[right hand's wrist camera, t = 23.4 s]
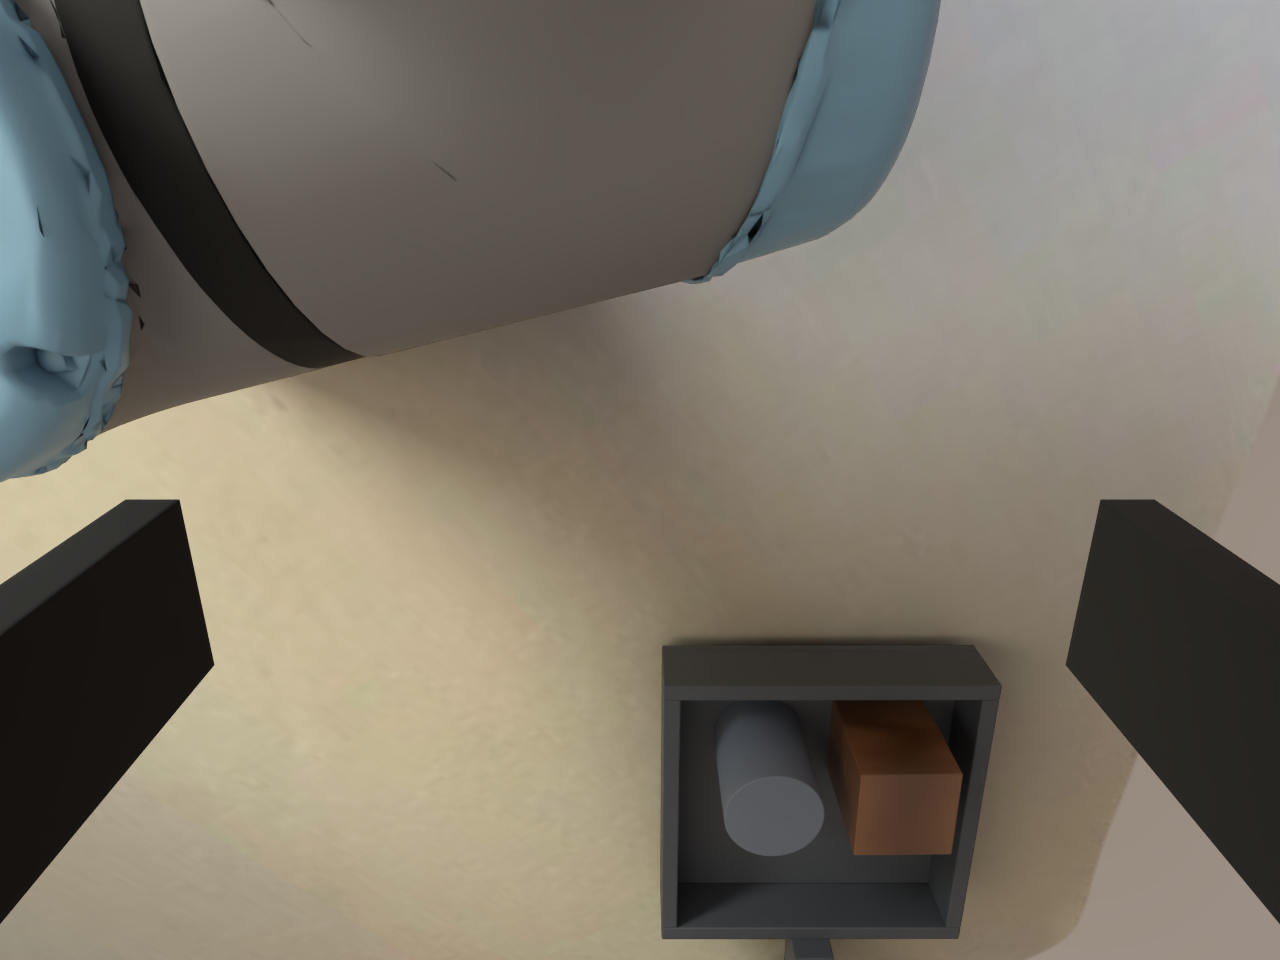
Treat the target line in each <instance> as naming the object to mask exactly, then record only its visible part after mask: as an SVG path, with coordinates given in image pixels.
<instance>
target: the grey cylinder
mask: <svg viewBox="0 0 1280 960" xmlns="http://www.w3.org/2000/svg"><path fill="white" fill-rule="evenodd" d="M714 745H715V753H716V761H717V769H718V776H719V784H720V792H721V800H722V808H723V816H724V823H725V827H726V830H727V832H728V834H729V836H730V837H731V838H732V840H733V841H734V842H735V843H736V844H737V845H738V846H740V847H741V848H743V849H745V850H746V851H749V852H751V853H754V854H758V855H763V856H781V855H786V854H790V853H793V852H795V851H798V850H800V849H802V848H803V847H805V846H806V845H808V844H809V843H810V842H811V841H812V840H813V839H814V838H815V837H816V836H817V834H818V833H819V831H820V829H821V828H822V825H823V822H824V806H823V802H822V799H821V795H820V792H819V788H818V785H817V781H816V778H815V774H814V771H813V767H812V764H811V760H810V757H809V753H808V750H807V746H806V743H805V739H804V735H803V732H802V728H801V725H800V722H799V719H798V717H797V715H796V714H795V713H794V711H793V710H792V709H791V708H790V707H788V706H787V705H786V704H784V703H782V702H781V701H778V700H740V701H738V702H736V703H734V704H732V705H731V706H729V707H728V708H727V709H726V710H725V711H723V713H722V714H721V715H720V717H719V718H718V720H717V722H716V724H715V728H714Z"/></svg>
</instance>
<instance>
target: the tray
mask: <svg viewBox="0 0 1280 960" xmlns="http://www.w3.org/2000/svg"><path fill="white" fill-rule="evenodd" d="M1001 687H1002V686H1001V684H1000V683H999V681H998V680H997V678H996V677H995V675H994V674H993V673H992V671H991V670H990V668H989V667H988V665H987V664H986V662H985V661H984V660H983V658H982V657H981V655H980V654H979V652H977V650H976V648H975V647H974V646H973V645H749V646H662V723H661V854H660V892H661V931H662V939H786V942H785V956H784V960H834V958H833V954H832V950H831V946H830V941H829V939H958V938H959V932H960V926H961V921H962V915H963V909H964V903H965V897H966V891H967V885H968V879H969V874H970V868H971V862H972V856H973V850H974V844H975V838H976V833H977V827H978V821H979V815H980V809H981V803H982V797H983V791H984V786H985V780H986V774H987V768H988V762H989V756H990V750H991V744H992V739H993V733H994V727H995V721H996V715H997V709H998V703H999V699H1000V693H1001ZM740 700H778V701H781V702H782V703H784V704H786V705H787V706H788V707H790V708H791V709H792V710H793V711H794V713H795V714H796V715H797V717H798V719H799V722H800V725H801V728H802V732H803V735H804V739H805V743H806V746H807V750H808V753H809V757H810V760H811V764H812V767H813V771H814V774H815V778H816V781H817V785H818V788H819V792H820V795H821V799H822V802H823V806H824V822H823V825H822V828H821V829H820V831H819V833H818V834H817V836H816V837H815V838H814V839H813V840H812V841H811V842H810V843H809V844H808V845H806V846H805V847H803V848H802V849H800V850H798V851H795V852H793V853H790V854H786V855H781V856H763V855H758V854H754V853H751V852H749V851H746V850H745V849H743V848H741V847H740V846H738V845H737V844H736V843H735V842H734V841H733V840H732V838H731V837H730V836H729V834H728V832H727V830H726V827H725V823H724V816H723V808H722V800H721V792H720V784H719V776H718V769H717V761H716V753H715V745H714V728H715V724H716V722H717V720H718V718H719V717H720V715H721V714H722V713H723V711H725V710H726V709H727V708H728V707H729V706H731V705H732V704H734V703H736V702H738V701H740ZM832 700H924V702H925V704H926V706H927V708H928V710H929V711H930V713H931V715H932V717H933V719H934V721H935V723H936V725H937V727H938V729H939V730H940V732H941V734H942V736H943V738H944V740H945V742H946V744H947V746H948V747H949V749H950V751H951V753H952V755H953V757H954V759H955V761H956V763H957V765H958V766H959V768H960V770H961V772H962V774H963V777H962V784H961V791H960V798H959V805H958V812H957V819H956V826H955V833H954V840H953V847H952V853H951V854H924V855H854V854H853V851H852V847H851V844H850V841H849V838H848V834H847V831H846V828H845V825H844V821H843V818H842V815H841V812H840V808H839V805H838V802H837V799H836V796H835V792H834V789H833V786H832V783H831V779H830V776H829V773H828V770H827V764H828V751H829V738H830V725H831V712H832Z"/></svg>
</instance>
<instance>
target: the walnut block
mask: <svg viewBox="0 0 1280 960" xmlns="http://www.w3.org/2000/svg"><path fill="white" fill-rule="evenodd" d="M827 770H828V773H829V776H830V779H831V783H832V786H833V789H834V792H835V796H836V799H837V802H838V805H839V808H840V812H841V815H842V818H843V821H844V825H845V828H846V831H847V834H848V838H849V841H850V844H851V847H852V851H853V854H854V855H924V854H951V853H952V847H953V840H954V833H955V826H956V819H957V812H958V805H959V798H960V791H961V784H962V777H963V774H962V772H961V770H960V768H959V766H958V765H957V763H956V761H955V759H954V757H953V755H952V753H951V751H950V749H949V747H948V746H947V744H946V742H945V740H944V738H943V736H942V734H941V732H940V730H939V729H938V727H937V725H936V723H935V721H934V719H933V717H932V715H931V713H930V711H929V710H928V708H927V706H926V704H925V702H924V700H832V712H831V725H830V738H829V751H828V764H827Z"/></svg>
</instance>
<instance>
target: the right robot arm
mask: <svg viewBox="0 0 1280 960" xmlns="http://www.w3.org/2000/svg"><path fill="white" fill-rule="evenodd" d="M940 2H941V0H0V482H2V481H5V480H7V479H10V478H19V477H27V476H33V475H38V474H43V473H46V472H48V471H51V470H54V469H56V468H58V467H59V466H60V465H62V464H63V463H65V462H66V461H67V460H68V459H69V458H70V457H71V456H72V455H75V454H78V453H80V452H81V451H83V450H85V449H87V441H89V440H93V439H94V438H95V437H96V436H98V435H99V434H101V433H103V432H106V431H108V430H110V429H113V428H115V427H117V426H120V425H122V424H125V423H128V422H130V421H133V420H136V419H139V418H141V417H144V416H147V415H150V414H153V413H156V412H159V411H162V410H165V409H169V408H172V407H175V406H179V405H182V404H186V403H189V402H193V401H197V400H201V399H205V398H209V397H213V396H217V395H221V394H225V393H228V392H232V391H236V390H240V389H244V388H248V387H252V386H256V385H260V384H264V383H267V382H271V381H275V380H279V379H283V378H287V377H291V376H295V375H299V374H302V373H306V372H310V371H314V370H318V369H321V368H324V367H328V366H332V365H335V364H339V363H343V362H347V361H351V360H355V359H359V358H362V357H366V356H381V355H385V354H389V353H393V352H397V351H401V350H405V349H409V348H414V347H418V346H422V345H426V344H430V343H434V342H438V341H442V340H446V339H450V338H454V337H458V336H462V335H466V334H470V333H474V332H478V331H482V330H486V329H490V328H494V327H498V326H502V325H506V324H510V323H515V322H519V321H523V320H527V319H531V318H535V317H539V316H543V315H547V314H551V313H555V312H559V311H563V310H567V309H571V308H575V307H579V306H583V305H587V304H591V303H595V302H599V301H603V300H607V299H612V298H616V297H620V296H624V295H628V294H632V293H636V292H640V291H644V290H648V289H652V288H656V287H660V286H664V285H668V284H672V283H676V282H680V281H681V282H684V283H689V284H697V283H703V282H708V281H710V279H711V278H712V277H715V276H722V275H723V274H725V273H726V272H727V271H728V270H730V269H731V268H732V267H733V266H735V265H736V264H737V263H740V262H743V261H746V260H750V259H753V258H756V257H760V256H763V255H766V254H769V253H773V252H776V251H779V250H783V249H786V248H789V247H793V246H796V245H799V244H802V243H806V242H809V241H812V240H816V239H819V238H821V237H823V236H825V235H827V234H829V233H830V232H832V231H833V230H835V229H836V228H838V227H840V226H841V225H843V224H844V223H846V222H847V221H849V220H850V219H852V218H853V217H854V216H855V214H856V213H858V212H859V211H860V210H861V209H863V208H864V207H865V206H866V205H867V204H868V203H869V201H870V200H871V199H872V198H873V197H874V195H875V194H876V192H877V191H878V190H879V188H880V187H881V185H882V184H883V182H884V181H885V179H886V177H887V176H888V174H889V172H890V171H891V169H892V167H893V165H894V163H895V162H896V160H897V158H898V156H899V154H900V152H901V149H902V147H903V145H904V143H905V140H906V138H907V135H908V133H909V130H910V128H911V125H912V122H913V119H914V116H915V113H916V110H917V107H918V104H919V100H920V96H921V93H922V89H923V85H924V81H925V77H926V74H927V70H928V66H929V62H930V57H931V52H932V47H933V42H934V37H935V32H936V27H937V22H938V16H939V9H940ZM213 666H214V661H213V656H212V652H211V647H210V642H209V638H208V633H207V628H206V623H205V619H204V614H203V609H202V604H201V600H200V595H199V590H198V586H197V581H196V576H195V571H194V567H193V562H192V557H191V552H190V548H189V543H188V538H187V533H186V529H185V524H184V519H183V515H182V510H181V505H180V500H124V501H123V502H121V503H120V504H118V505H117V506H116V507H114V508H113V509H111V510H110V511H108V512H107V513H105V514H104V515H102V516H101V517H99V518H98V519H96V520H95V521H93V522H92V523H91V524H89V525H88V526H86V527H85V528H83V529H82V530H80V531H79V532H77V533H76V534H74V535H73V536H71V537H70V538H68V539H67V540H66V541H64V542H63V543H61V544H60V545H58V546H57V547H55V548H54V549H52V550H51V551H49V552H48V553H46V554H45V555H43V556H42V557H41V558H39V559H38V560H36V561H35V562H33V563H32V564H30V565H29V566H27V567H26V568H24V569H23V570H21V571H20V572H18V573H17V574H16V575H14V576H13V577H11V578H10V579H8V580H7V581H5V582H4V583H2V584H1V585H0V924H1V922H2V921H3V920H4V919H5V918H6V916H7V915H8V914H9V913H10V911H11V910H12V909H13V908H14V907H15V905H16V904H17V903H18V902H19V901H20V899H21V898H22V897H23V896H24V895H25V893H26V892H27V891H28V890H29V888H30V887H31V886H32V885H33V884H34V882H35V881H36V880H37V879H38V878H39V876H40V875H41V874H42V873H43V872H44V870H45V869H46V868H47V867H48V865H49V864H50V863H51V862H52V861H53V859H54V858H55V857H56V856H57V855H58V853H59V852H60V851H61V850H62V849H63V847H64V846H65V845H66V844H67V843H68V841H69V840H70V839H71V838H72V836H73V835H74V834H75V833H76V832H77V830H78V829H79V828H80V827H81V826H82V824H83V823H84V822H85V821H86V820H87V818H88V817H89V816H90V815H91V813H92V812H93V811H94V810H95V809H96V807H97V806H98V805H99V804H100V803H101V801H102V800H103V799H104V798H105V797H106V795H107V794H108V793H109V792H110V790H111V789H112V788H113V787H114V786H115V784H116V783H117V782H118V781H119V780H120V778H121V777H122V776H123V775H124V774H125V772H126V771H127V770H128V769H129V768H130V766H131V765H132V764H133V763H134V761H135V760H136V759H137V758H138V757H139V755H140V754H141V753H142V752H143V751H144V749H145V748H146V747H147V746H148V745H149V743H150V742H151V741H152V740H153V738H154V737H155V736H156V735H157V734H158V732H159V731H160V730H161V729H162V728H163V726H164V725H165V724H166V723H167V722H168V720H169V719H170V718H171V717H172V715H173V714H174V713H175V712H176V711H177V709H178V708H179V707H180V706H181V705H182V703H183V702H184V701H185V700H186V699H187V697H188V696H189V695H190V694H191V692H192V691H193V690H194V689H195V688H196V686H197V685H198V684H199V683H200V682H201V680H202V679H203V678H204V677H205V676H206V674H207V673H208V672H209V671H210V670H211V668H212V667H213ZM1066 666H1067V667H1068V668H1069V670H1070V671H1071V672H1072V673H1073V674H1074V676H1075V677H1076V678H1077V679H1078V680H1079V682H1080V683H1081V684H1082V685H1083V686H1084V688H1085V689H1086V690H1087V691H1088V692H1089V694H1090V695H1091V696H1092V697H1093V699H1094V700H1095V701H1096V702H1097V703H1098V705H1099V706H1100V707H1101V708H1102V709H1103V711H1104V712H1105V713H1106V714H1107V715H1108V717H1109V718H1110V719H1111V720H1112V722H1113V723H1114V724H1115V725H1116V726H1117V728H1118V729H1119V730H1120V731H1121V732H1122V734H1123V735H1124V736H1125V737H1126V738H1127V740H1128V741H1129V742H1130V743H1131V745H1132V746H1133V747H1134V748H1135V749H1136V751H1137V752H1138V753H1139V754H1140V755H1141V757H1142V758H1143V759H1144V760H1145V761H1146V763H1147V764H1148V765H1149V766H1150V768H1151V769H1152V770H1153V771H1154V772H1155V774H1156V775H1157V776H1158V777H1159V778H1160V780H1161V781H1162V782H1163V783H1164V784H1165V786H1166V787H1167V788H1168V789H1169V790H1170V792H1171V793H1172V794H1173V795H1174V797H1175V798H1176V799H1177V800H1178V801H1179V803H1180V804H1181V805H1182V806H1183V807H1184V809H1185V810H1186V811H1187V812H1188V813H1189V815H1190V816H1191V817H1192V818H1193V820H1194V821H1195V822H1196V823H1197V824H1198V826H1199V827H1200V828H1201V829H1202V830H1203V832H1204V833H1205V834H1206V835H1207V836H1208V838H1209V839H1210V840H1211V841H1212V843H1213V844H1214V845H1215V846H1216V847H1217V849H1218V850H1219V851H1220V852H1221V853H1222V855H1223V856H1224V857H1225V858H1226V859H1227V861H1228V862H1229V863H1230V864H1231V865H1232V867H1233V868H1234V869H1235V870H1236V872H1237V873H1238V874H1239V875H1240V876H1241V878H1242V879H1243V880H1244V881H1245V882H1246V884H1247V885H1248V886H1249V887H1250V888H1251V890H1252V891H1253V892H1254V893H1255V895H1256V896H1257V897H1258V898H1259V899H1260V901H1261V902H1262V903H1263V904H1264V905H1265V907H1266V908H1267V909H1268V910H1269V911H1270V913H1271V914H1272V915H1273V916H1274V917H1275V919H1276V920H1277V921H1278V922H1279V924H1280V585H1279V584H1278V583H1276V582H1275V581H1273V580H1272V579H1270V578H1269V577H1267V576H1266V575H1264V574H1263V573H1262V572H1260V571H1259V570H1257V569H1256V568H1254V567H1253V566H1251V565H1250V564H1248V563H1247V562H1245V561H1244V560H1242V559H1241V558H1239V557H1238V556H1237V555H1235V554H1233V553H1232V552H1231V551H1229V550H1228V549H1226V548H1225V547H1223V546H1222V545H1220V544H1219V543H1217V542H1216V541H1214V540H1213V539H1212V538H1210V537H1209V536H1207V535H1206V534H1204V533H1203V532H1201V531H1200V530H1198V529H1197V528H1195V527H1194V526H1192V525H1191V524H1189V523H1188V522H1187V521H1185V520H1184V519H1182V518H1181V517H1179V516H1178V515H1176V514H1175V513H1173V512H1172V511H1170V510H1169V509H1167V508H1166V507H1164V506H1163V505H1162V504H1160V503H1159V502H1157V501H1156V500H1100V505H1099V510H1098V515H1097V519H1096V524H1095V529H1094V533H1093V538H1092V543H1091V548H1090V552H1089V557H1088V562H1087V567H1086V571H1085V576H1084V581H1083V585H1082V590H1081V595H1080V600H1079V604H1078V609H1077V614H1076V619H1075V623H1074V628H1073V633H1072V638H1071V642H1070V647H1069V652H1068V656H1067V661H1066Z"/></svg>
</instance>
